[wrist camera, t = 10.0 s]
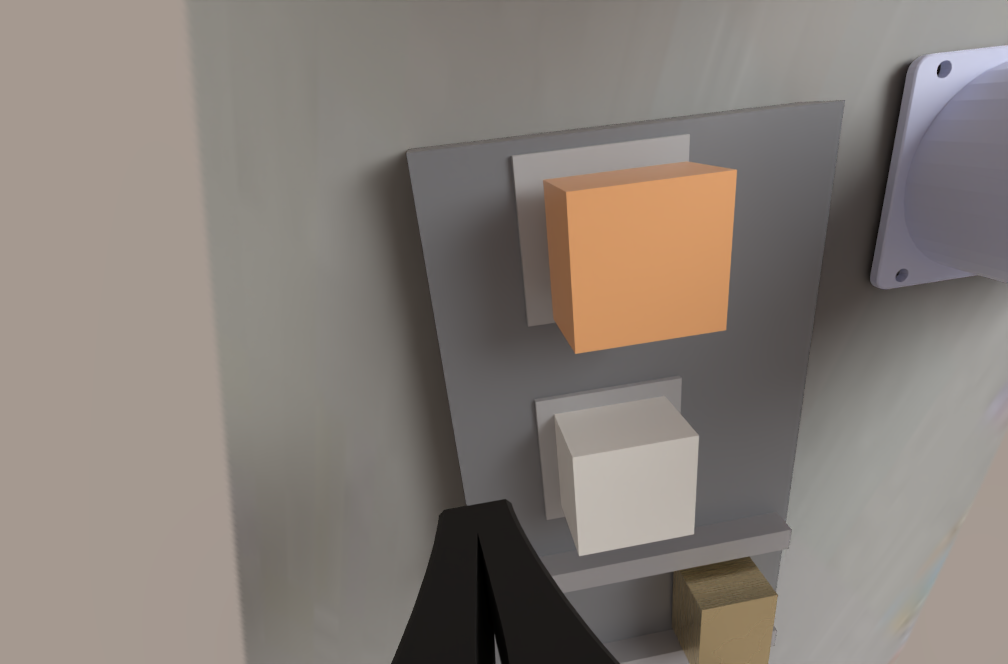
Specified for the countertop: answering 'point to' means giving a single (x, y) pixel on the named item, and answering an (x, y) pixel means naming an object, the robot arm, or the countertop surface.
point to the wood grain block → (724, 613)
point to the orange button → (640, 253)
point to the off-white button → (626, 474)
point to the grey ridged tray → (635, 368)
